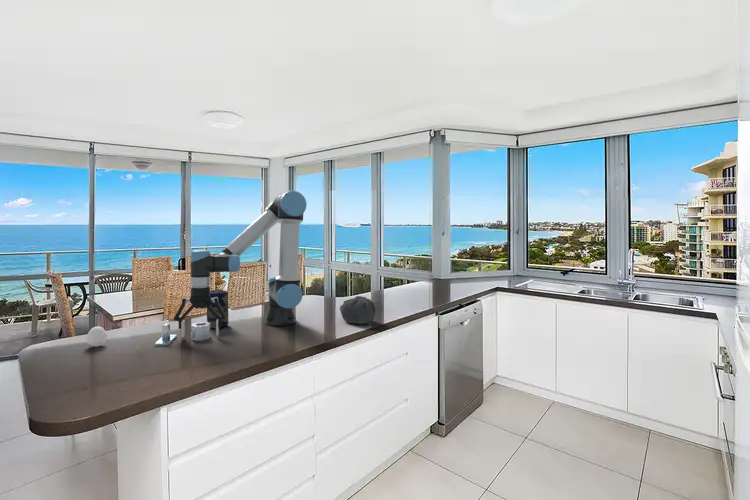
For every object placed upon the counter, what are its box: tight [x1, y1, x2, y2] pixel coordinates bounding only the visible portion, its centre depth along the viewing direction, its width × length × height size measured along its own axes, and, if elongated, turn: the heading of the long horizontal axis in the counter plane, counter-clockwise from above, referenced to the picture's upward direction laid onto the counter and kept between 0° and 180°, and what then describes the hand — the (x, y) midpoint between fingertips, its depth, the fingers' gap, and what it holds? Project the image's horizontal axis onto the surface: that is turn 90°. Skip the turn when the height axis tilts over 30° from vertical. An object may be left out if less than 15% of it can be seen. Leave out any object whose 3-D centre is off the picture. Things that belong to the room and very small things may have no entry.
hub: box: [190, 321, 211, 342], centre depth 160 cm, size 7×7×6 cm
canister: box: [206, 288, 229, 329], centre depth 178 cm, size 10×10×18 cm
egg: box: [86, 326, 108, 348], centre depth 147 cm, size 6×6×8 cm
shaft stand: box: [154, 323, 178, 347], centre depth 155 cm, size 5×12×7 cm, turn 14°
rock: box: [339, 295, 377, 325], centre depth 191 cm, size 22×14×15 cm
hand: (200, 335), depth 160 cm, fingers open, 13 cm apart
